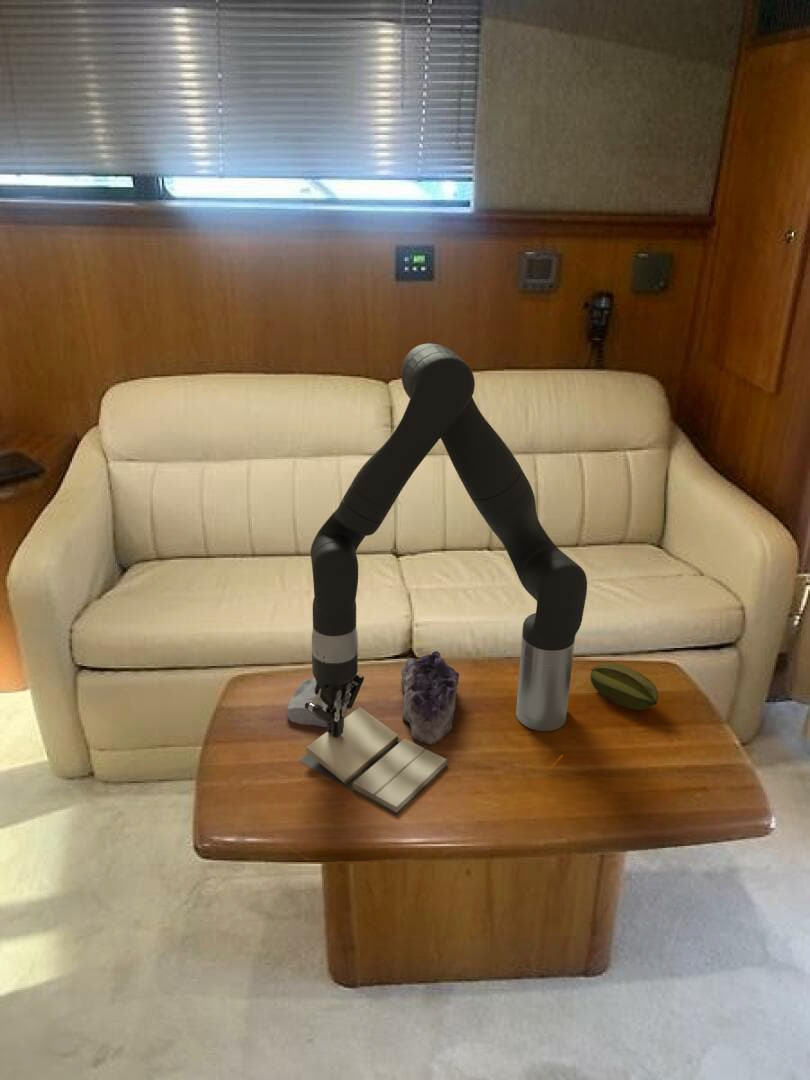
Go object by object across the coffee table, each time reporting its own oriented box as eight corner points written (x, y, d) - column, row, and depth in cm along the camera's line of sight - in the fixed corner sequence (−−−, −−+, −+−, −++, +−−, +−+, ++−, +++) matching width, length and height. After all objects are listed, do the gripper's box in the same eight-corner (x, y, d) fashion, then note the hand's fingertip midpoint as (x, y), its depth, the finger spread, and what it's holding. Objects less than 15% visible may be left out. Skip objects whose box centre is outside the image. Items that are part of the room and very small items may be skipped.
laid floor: (355, 718, 146) (355, 711, 145) (449, 765, 134) (449, 757, 133) (298, 762, 135) (298, 754, 134) (396, 817, 123) (396, 809, 122)
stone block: (286, 732, 145) (337, 730, 142) (279, 710, 143) (331, 708, 141) (306, 696, 156) (353, 694, 153) (300, 675, 154) (348, 673, 152)
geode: (469, 747, 139) (463, 702, 134) (404, 754, 139) (396, 710, 135) (460, 677, 157) (454, 636, 152) (402, 684, 157) (395, 643, 153)
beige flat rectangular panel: (358, 711, 143) (359, 706, 143) (398, 740, 139) (399, 735, 139) (305, 751, 133) (306, 747, 133) (346, 784, 129) (347, 779, 129)
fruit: (645, 684, 156) (649, 656, 153) (656, 722, 145) (662, 692, 142) (587, 680, 157) (590, 652, 154) (594, 718, 146) (598, 688, 144)
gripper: (324, 675, 122) (326, 763, 129) (377, 640, 132) (376, 723, 139) (289, 658, 126) (293, 744, 133) (343, 625, 136) (344, 707, 143)
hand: (335, 733), depth 136 cm, fingers closed
